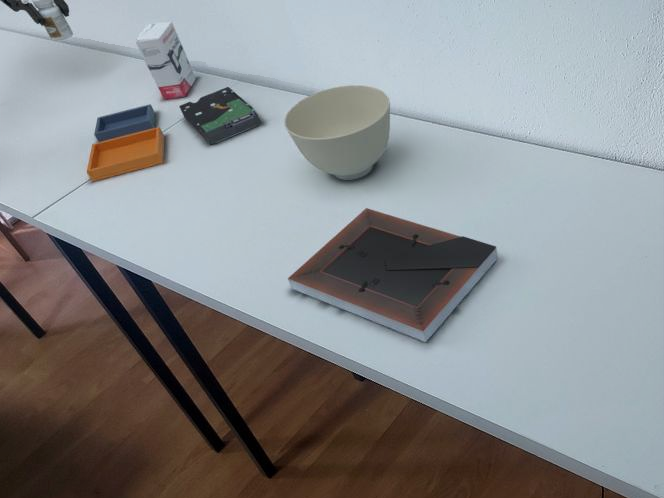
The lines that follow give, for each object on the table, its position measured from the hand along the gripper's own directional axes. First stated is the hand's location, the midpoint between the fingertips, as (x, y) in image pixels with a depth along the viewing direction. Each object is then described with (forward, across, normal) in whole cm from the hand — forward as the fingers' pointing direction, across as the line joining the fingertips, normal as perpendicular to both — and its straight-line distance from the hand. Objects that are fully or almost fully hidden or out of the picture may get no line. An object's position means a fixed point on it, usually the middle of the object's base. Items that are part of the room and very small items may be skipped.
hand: (55, 18), depth 129 cm
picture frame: (+83, -5, -63) cm, 104 cm away
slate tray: (+29, -5, -10) cm, 31 cm away
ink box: (+25, +10, -6) cm, 28 cm away
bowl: (+65, +9, -46) cm, 80 cm away
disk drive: (+40, +6, -21) cm, 46 cm away
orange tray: (+38, -11, -18) cm, 43 cm away
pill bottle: (+2, 0, +4) cm, 5 cm away
